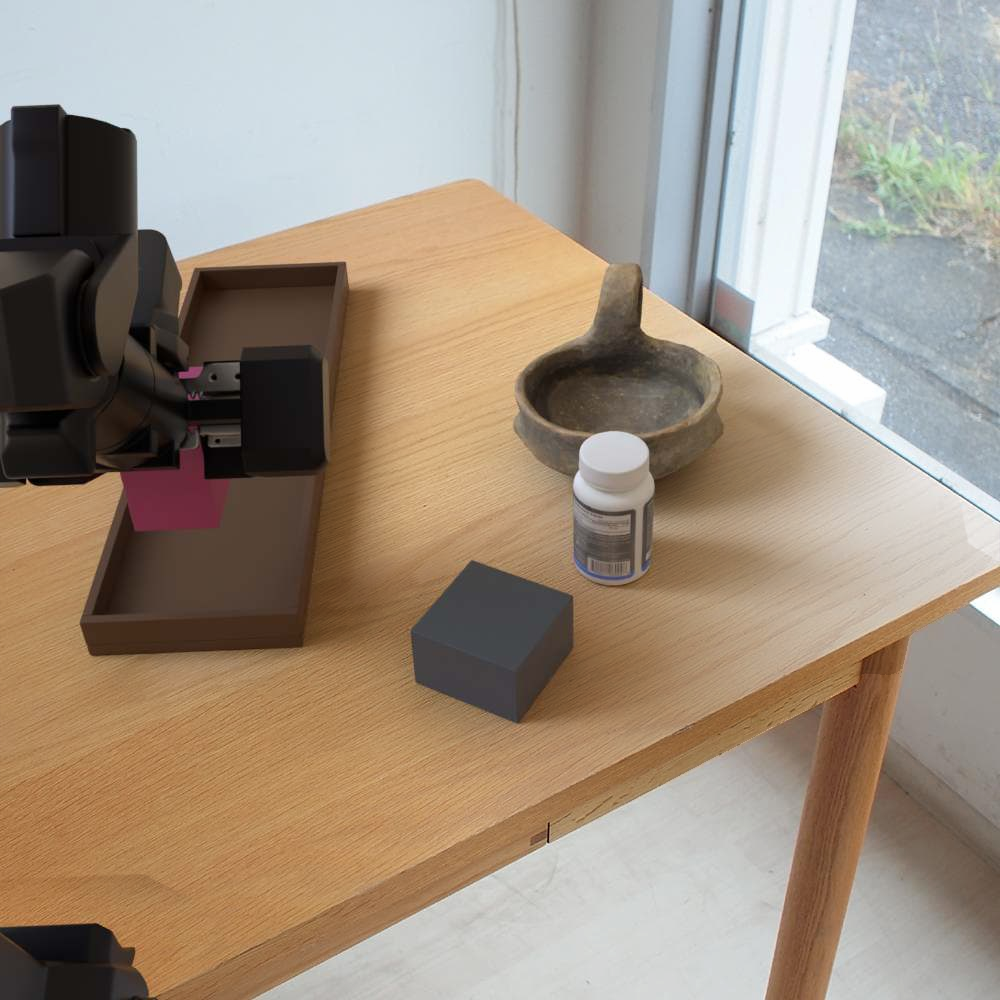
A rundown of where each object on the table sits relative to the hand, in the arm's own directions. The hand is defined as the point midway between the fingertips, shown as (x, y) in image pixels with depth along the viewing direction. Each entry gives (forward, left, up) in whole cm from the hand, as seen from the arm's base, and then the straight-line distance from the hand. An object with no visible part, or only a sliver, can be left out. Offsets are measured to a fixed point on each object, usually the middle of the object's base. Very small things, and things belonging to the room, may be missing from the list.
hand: (178, 444), depth 73 cm
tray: (+12, +9, -11) cm, 19 cm away
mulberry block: (-1, -1, -3) cm, 3 cm away
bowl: (+26, -13, -11) cm, 31 cm away
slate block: (+4, -18, -11) cm, 21 cm away
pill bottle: (+15, -19, -11) cm, 27 cm away
